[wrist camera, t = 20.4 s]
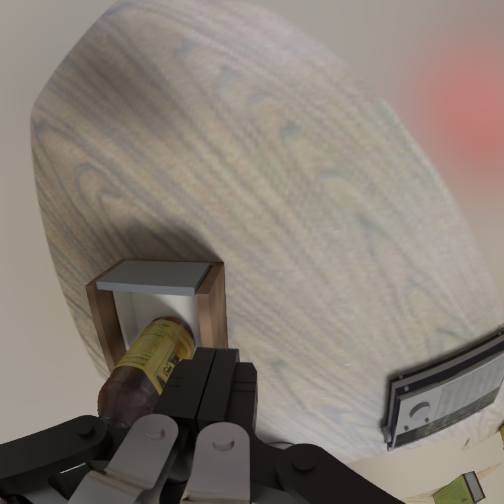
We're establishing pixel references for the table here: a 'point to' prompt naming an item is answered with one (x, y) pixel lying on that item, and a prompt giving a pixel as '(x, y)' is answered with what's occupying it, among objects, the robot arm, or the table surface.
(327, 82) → the table surface
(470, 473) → the protein box
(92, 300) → the caddy
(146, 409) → the sauce bottle
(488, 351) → the radio
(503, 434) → the plant pot
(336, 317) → the table surface
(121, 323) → the tray
